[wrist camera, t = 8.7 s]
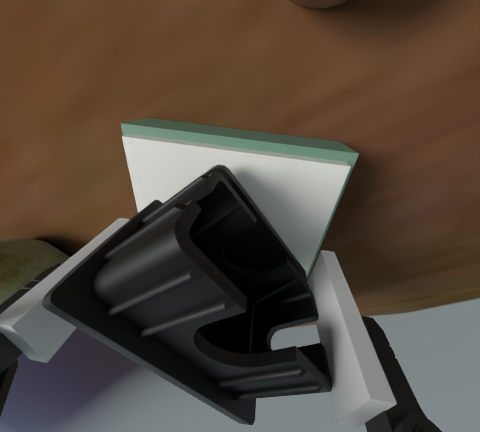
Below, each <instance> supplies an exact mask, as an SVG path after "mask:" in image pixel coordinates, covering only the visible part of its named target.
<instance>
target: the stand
mask: <svg viewBox="0 0 480 432" xmlns="http://www.w3.org/2000/svg"><path fill="white" fill-rule="evenodd" d="M121 128H122V133H123V136H122V139H123V144H124V149H125V153H126V158H127V163H128V167H129V172H130V177H131V181H132V186H133V191H134V195H135V200H136V205H137V209H138V213H139V212H140V211H141V210H143V209H144V208H145V207H146V206H148V205H149V204H150V203H151V202H153V201H154V200H159V201H161V202H162V203H164V202H166V201H167V200H168V199H170V198H171V197H172V196H174V195H175V194H176V193H178V192H179V191H180V190H182V189H183V188H184V187H186V186H187V185H189V184H190V183H191V182H193V181H194V180H195V179H197V178H198V177H199V176H201V175H203V174H204V173H205V172H207V171H208V170H209V169H211V168H212V167H213V166H216V165H225V166H226V167H227V168H228V169H230V171H231V172H232V173H233V175H234V176H235V177H236V179H237V180H238V181H239V183H240V184H241V185H242V187H243V188H244V189H245V191H246V192H247V193H248V195H249V196H250V197H251V199H252V200H253V201H254V203H255V204H256V205H257V207H258V208H259V209H260V211H261V212H262V213H263V215H264V216H265V217H266V219H267V220H268V221H269V223H270V224H271V225H272V227H273V228H274V229H275V231H276V232H277V234H278V235H279V236H280V238H281V239H282V240H283V242H284V243H285V244H286V246H287V247H288V248H289V250H290V251H291V252H292V254H293V255H294V256H295V258H296V259H297V260H298V262H299V263H300V264H301V266H302V267H303V268H304V270H305V272H306V276H307V278H308V276H309V273H310V271H311V268H312V266H313V264H314V261H315V259H316V256H317V254H318V252H319V249H320V247H321V244H322V242H323V240H324V237H325V235H326V232H327V230H328V228H329V225H330V223H331V220H332V218H333V216H334V213H335V211H336V208H337V206H338V204H339V201H340V199H341V196H342V194H343V192H344V189H345V187H346V184H347V182H348V180H349V177H350V175H351V172H352V170H353V167H354V165H355V163H356V160H357V158H358V155H359V153H357V152H356V151H354V150H353V149H351V148H350V147H348V146H346V145H345V144H343V143H342V142H339V141H331V140H323V139H315V138H307V137H299V136H291V135H283V134H275V133H267V132H259V131H251V130H243V129H235V128H227V127H219V126H211V125H203V124H195V123H186V122H178V121H170V120H162V119H154V118H148V119H142V120H136V121H131V122H125V123H121Z"/></svg>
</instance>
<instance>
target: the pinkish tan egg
mask: <svg viewBox="0 0 480 432" xmlns="http://www.w3.org/2000/svg"><path fill="white" fill-rule="evenodd" d="M291 1H292V2H294V3H295V4H298V5H300V6H303V7H307V8H312V9H323V8H329V7H333V6H336V5H339V4H342V3H344V2H346V1H348V0H291Z"/></svg>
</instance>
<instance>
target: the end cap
mask: <svg viewBox="0 0 480 432" xmlns="http://www.w3.org/2000/svg"><path fill="white" fill-rule="evenodd" d="M306 281H307V276H306V272H305V270H304V268H303V267H302V266H301V264H300V263H299V262H298V260H297V259H296V258H295V256H294V255H293V254H292V252H291V251H290V250H289V248H288V247H287V246H286V244H285V243H284V242H283V240H282V239H281V238H280V236H279V235H278V234H277V232H276V231H275V229H274V228H273V227H272V225H271V224H270V223H269V221H268V220H267V219H266V217H265V216H264V215H263V213H262V212H261V211H260V209H259V208H258V207H257V205H256V204H255V203H254V201H253V200H252V199H251V197H250V196H249V195H248V193H247V192H246V191H245V189H244V188H243V187H242V185H241V184H240V183H239V181H238V180H237V179H236V177H235V176H234V175H233V173H232V172H231V171H230V169H228V168H227V167H226V166H225V165H216V166H213V167H212V168H211V169H209V170H208V171H207V172H205V173H204V174H203V175H201V176H199V177H198V178H197V179H195V180H194V181H193V182H191V183H190V184H189V185H187V186H186V187H184V188H183V189H182V190H180V191H179V192H178V193H176V194H175V195H174V196H172V197H171V198H170V199H168V200H167V201H166V202H164V203H162V202H161V201H159V200H154V201H153V202H151V203H150V204H149V205H148V206H146V207H145V208H144V209H143V210H141V211H140V212H139V213H138V214H136V215H135V216H134V217H133V218H131V219H130V220H129V221H128V222H127V223H125V224H124V225H123V226H122V227H121V228H119V229H118V230H117V231H116V232H115V233H113V234H112V235H111V236H110V237H109V238H107V239H106V240H105V241H104V242H103V243H102V244H100V245H99V246H98V247H97V248H96V249H94V250H93V251H92V252H91V253H90V254H89V255H88V256H86V257H85V258H84V259H83V260H82V261H81V262H80V263H78V264H77V265H76V266H75V267H74V268H73V269H72V270H71V271H69V272H68V273H67V274H66V275H65V276H64V277H63V278H62V279H61V280H60V281H59V282H57V283H56V284H55V285H54V286H53V287H52V288H51V289H50V290H49V291H48V293H47V294H46V295H45V296H44V298H43V300H42V305H43V307H44V308H45V309H47V310H48V311H50V312H52V313H53V314H55V315H57V316H58V317H60V318H62V319H64V320H65V321H67V322H69V323H70V324H72V325H74V326H75V327H77V328H79V329H81V330H82V331H84V332H86V333H87V334H89V335H91V336H92V337H94V338H96V339H97V340H99V341H101V342H102V343H104V344H106V345H108V346H109V347H111V348H113V349H114V350H116V351H118V352H120V353H121V354H123V355H125V356H126V357H128V358H130V359H131V360H133V361H135V362H136V363H138V364H140V365H142V366H143V367H145V368H147V369H148V370H150V371H152V372H153V373H155V374H157V375H158V376H160V377H162V378H163V379H165V380H167V381H169V382H170V383H172V384H174V385H175V386H177V387H179V388H180V389H182V390H184V391H186V392H187V393H189V394H191V395H192V396H194V397H196V398H197V399H199V400H201V401H202V402H204V403H206V404H208V405H209V406H211V407H213V408H214V409H216V410H218V411H220V412H221V413H223V414H224V415H226V416H228V417H230V418H231V419H233V420H235V421H237V422H239V423H241V424H248V425H253V423H254V421H255V408H256V398H265V397H276V396H288V395H299V394H311V393H321V392H331V391H332V380H331V375H330V371H329V366H328V361H327V357H326V352H325V347H324V346H323V345H322V344H321V343H318V344H313V345H308V346H302V347H296V346H293V347H289V348H284V349H278V350H273V351H272V349H271V345H270V343H271V338H272V336H273V334H274V333H275V332H276V331H278V330H280V329H284V328H288V327H293V326H297V325H301V324H305V323H309V322H313V321H317V320H318V315H317V310H316V306H315V301H314V297H313V294H312V292H311V290H310V288H309V286H308V285H307V283H306Z"/></svg>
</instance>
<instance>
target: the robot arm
mask: <svg viewBox="0 0 480 432" xmlns="http://www.w3.org/2000/svg"><path fill="white" fill-rule="evenodd" d="M128 221H129V219H123V218H119V219H117V220H116V221H115V222H114V223H113V224H111V225H110V226H109V227H108V228H106V229H105V230H104V231H103V232H101V233H100V234H99V235H98V236H96V237H95V238H94V239H93V240H92V241H90V242H89V243H88V244H87V245H85V246H84V247H83V248H82V249H80V250H79V251H78V252H77V253H75V254H74V255H73V256H72V257H70V258H69V259H68V260H67V261H66V262H64V263H63V264H60V263H58V264H56V265H54V266H52V267H50V268H48V269H46V270H44V271H43V272H42V273H41V274H39V275H38V276H37V277H35V278H34V279H33V281H30V282H29V283H28V284H26V285H25V286H24V287H23V289H20V290H19V291H17V292H16V293H15V294H13V295H12V296H11V297H9V298H8V299H7V300H6V301H4V302H3V303H2V304H0V416H1V413H2V410H3V407H4V404H5V401H6V399H7V396H8V393H9V390H10V387H11V384H12V381H13V378H14V375H15V372H16V369H17V366H18V361H17V357H19V355H20V354H22V352H23V353H24V354H25V355H26V356H27V357H28V358H29V359H31V360H36V361H41V362H46V363H47V362H48V361H49V360H50V358H51V357H52V356H53V355H54V354H55V353H56V351H57V350H58V349H59V348H60V347H61V345H62V344H63V343H64V342H65V341H66V339H67V338H68V337H69V336H70V335H71V333H72V332H73V331H74V330H75V329H76V327H75V326H74V325H72V324H70V323H69V322H67V321H65V320H64V319H62V318H60V317H58V316H57V315H55V314H53V313H52V312H50V311H48V310H47V309H45V308H44V307H43V305H42V300H43V298H44V296H45V295H46V294H47V293H48V291H49V290H50V289H51V288H52V287H53V286H54V285H55V284H56V283H57V282H59V281H60V280H61V279H62V278H63V277H64V276H65V275H66V274H67V273H68V272H69V271H71V270H72V269H73V268H74V267H75V266H76V265H77V264H78V263H80V262H81V261H82V260H83V259H84V258H85V257H86V256H88V255H89V254H90V253H91V252H92V251H93V250H94V249H96V248H97V247H98V246H99V245H100V244H102V243H103V242H104V241H105V240H106V239H107V238H109V237H110V236H111V235H112V234H113V233H115V232H116V231H117V230H118V229H119V228H121V227H122V226H123V225H124V224H125V223H127V222H128ZM308 284H309V288H310V290H311V292H312V294H313V297H314V301H315V306H316V310H317V315H318V320H317V321H316V324H317V329H318V333H319V338H320V343H321V344H322V345H323V346H324V347H325V352H326V357H327V361H328V366H329V371H330V375H331V380H332V391H331V397H332V402H333V406H334V411H335V417H336V422H337V424H341V425H345V426H351V427H355V428H359V427H360V426H362V425H364V424H365V425H366V429H367V432H442V431H441V430H440V429H439V428H438V427H437V426H435V424H433V423H432V422H431V421H430V420H429V419H427V417H426V416H425V415H424V413H423V411H422V409H421V408H420V406H419V404H418V402H417V400H416V398H415V396H414V394H413V392H412V389H411V388H410V385H409V383H408V381H407V379H406V377H405V375H404V373H403V371H402V369H401V367H400V365H399V363H398V361H397V359H396V358H395V354H394V352H393V350H392V348H391V347H390V346H389V345H390V344H389V342H388V340H387V338H386V336H385V333H384V331H383V330H382V329H381V327H380V326H379V325H378V324H377V323H376V321H375V320H374V319H373V318H370V317H364V316H361V315H360V313H359V311H358V308H357V306H356V303H355V301H354V299H353V296H352V294H351V291H350V289H349V286H348V284H347V282H346V279H345V277H344V274H343V272H342V269H341V267H340V265H339V262H338V260H337V257H336V255H335V252H331V251H325V250H321V251H320V254H319V256H318V258H317V261H316V263H315V265H314V268H313V270H312V272H311V275H310V277H309V279H308Z"/></svg>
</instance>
